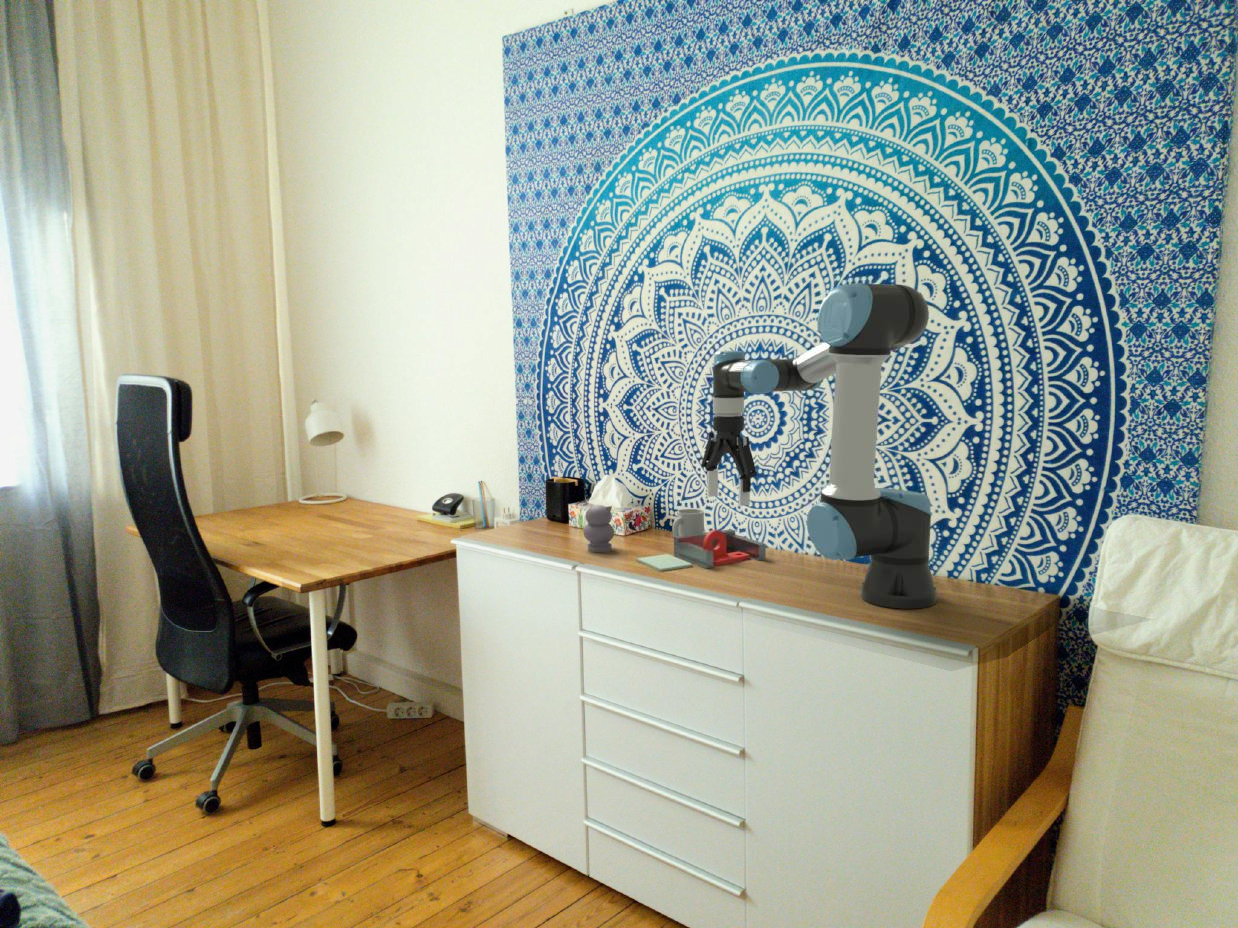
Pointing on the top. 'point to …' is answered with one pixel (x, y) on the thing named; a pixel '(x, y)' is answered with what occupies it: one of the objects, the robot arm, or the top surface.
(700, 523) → the cup
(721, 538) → the bracket
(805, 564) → the top surface
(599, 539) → the cat figurine
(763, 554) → the grey u-shaped frame
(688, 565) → the mat
